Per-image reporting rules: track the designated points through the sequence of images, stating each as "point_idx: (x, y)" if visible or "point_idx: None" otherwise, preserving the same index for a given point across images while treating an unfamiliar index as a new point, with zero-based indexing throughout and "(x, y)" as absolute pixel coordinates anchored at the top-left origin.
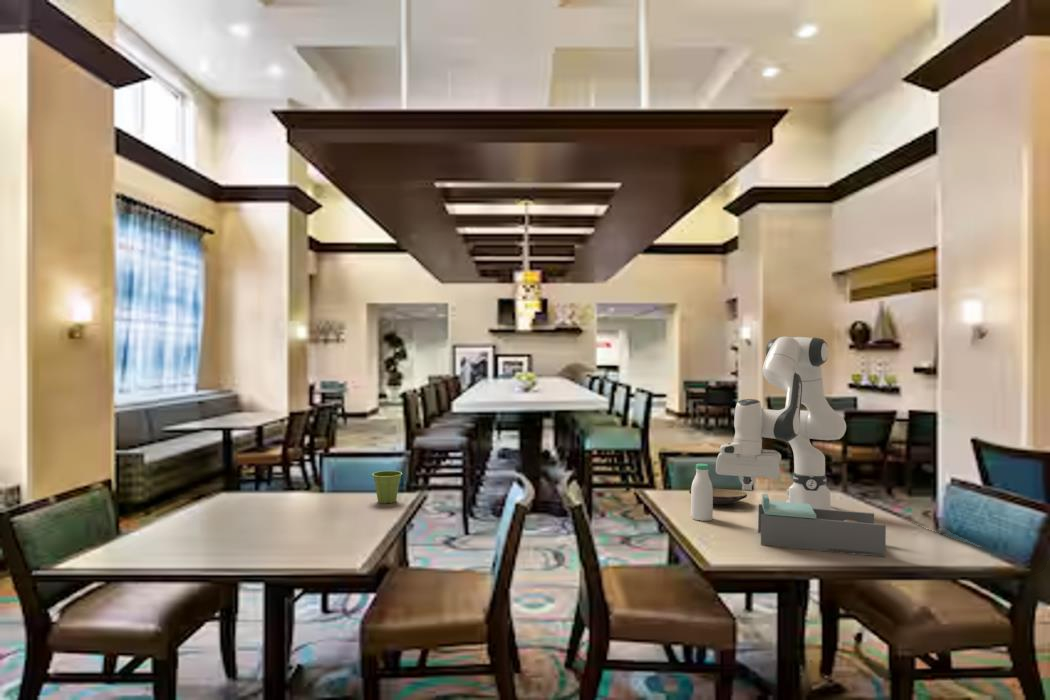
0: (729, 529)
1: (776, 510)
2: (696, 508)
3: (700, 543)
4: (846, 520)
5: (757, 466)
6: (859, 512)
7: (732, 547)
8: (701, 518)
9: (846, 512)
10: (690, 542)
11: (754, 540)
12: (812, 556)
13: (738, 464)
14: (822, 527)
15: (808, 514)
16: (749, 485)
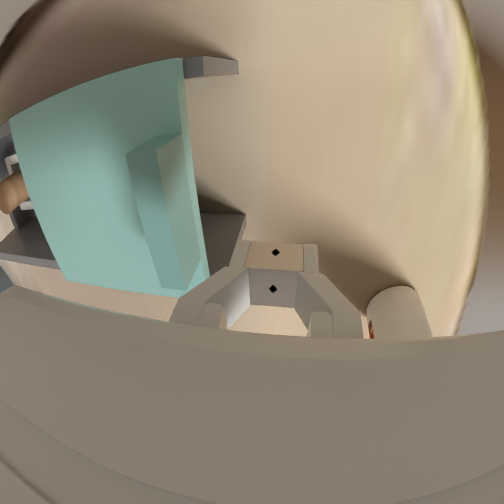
0: (337, 224)
1: (118, 110)
2: (421, 312)
3: (444, 37)
4: (7, 204)
5: (80, 440)
6: (4, 255)
7: (342, 2)
8: (403, 289)
9: (16, 253)
10: (470, 47)
11: (260, 110)
12: (96, 28)
13: (398, 499)
14: None
15: (22, 115)
16: (250, 267)
